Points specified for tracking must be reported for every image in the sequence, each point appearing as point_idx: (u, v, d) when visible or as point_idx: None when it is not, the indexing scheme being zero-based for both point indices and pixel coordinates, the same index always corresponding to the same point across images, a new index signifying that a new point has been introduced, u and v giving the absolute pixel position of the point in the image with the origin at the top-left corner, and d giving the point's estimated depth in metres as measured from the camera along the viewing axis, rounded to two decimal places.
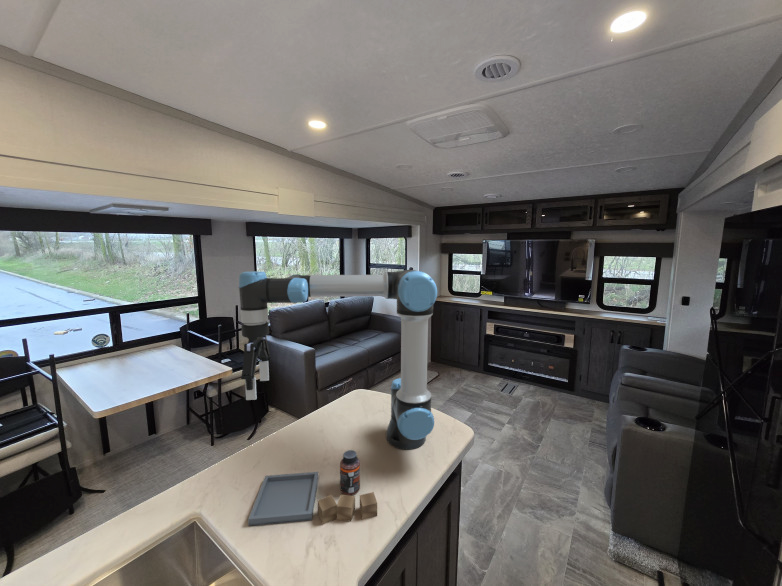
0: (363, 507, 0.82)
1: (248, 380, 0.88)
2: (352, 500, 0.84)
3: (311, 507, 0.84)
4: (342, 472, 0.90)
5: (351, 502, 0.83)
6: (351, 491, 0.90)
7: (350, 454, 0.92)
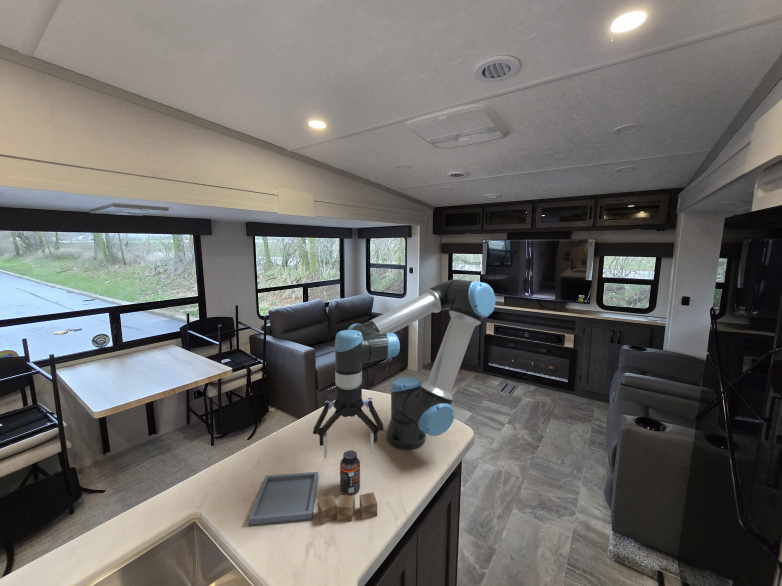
0: (363, 507, 0.82)
1: None
2: (352, 500, 0.84)
3: (311, 507, 0.84)
4: (342, 472, 0.90)
5: (351, 502, 0.83)
6: (351, 491, 0.90)
7: (350, 454, 0.92)
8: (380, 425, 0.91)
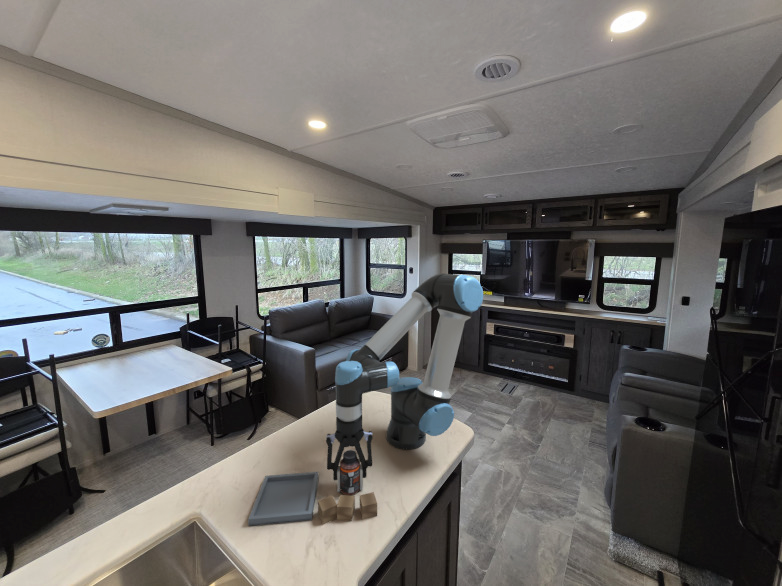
0: (363, 507, 0.82)
1: None
2: (352, 500, 0.84)
3: (311, 507, 0.84)
4: (342, 472, 0.90)
5: (351, 502, 0.83)
6: (351, 491, 0.90)
7: (350, 454, 0.92)
8: (370, 461, 0.92)
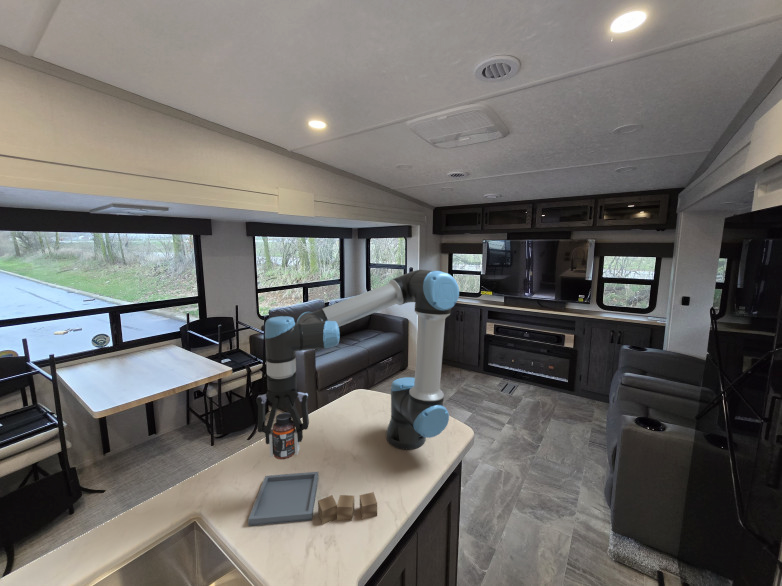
0: (363, 507, 0.82)
1: None
2: (352, 499, 0.84)
3: (311, 507, 0.84)
4: (274, 435, 0.84)
5: (351, 502, 0.84)
6: (284, 455, 0.84)
7: (284, 416, 0.86)
8: (305, 423, 0.86)
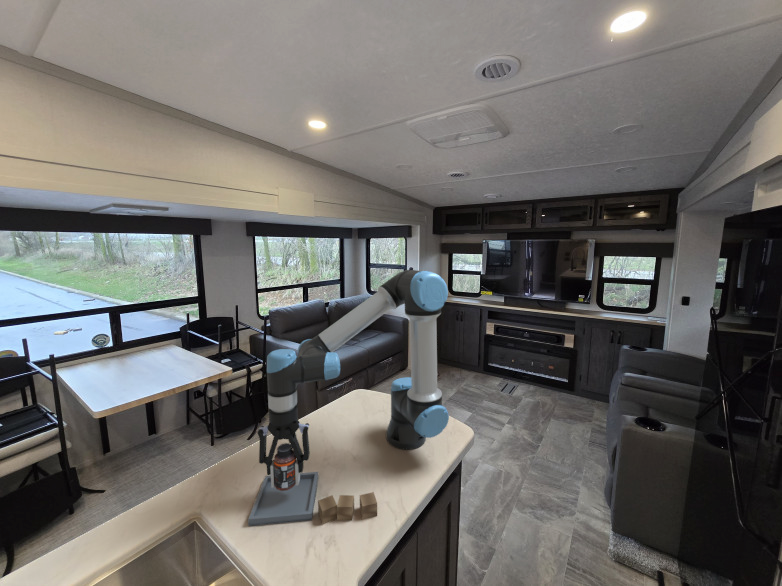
0: (363, 507, 0.82)
1: None
2: (352, 499, 0.84)
3: (311, 507, 0.84)
4: (275, 466, 0.86)
5: (351, 501, 0.84)
6: (285, 486, 0.86)
7: (285, 447, 0.87)
8: (306, 454, 0.87)
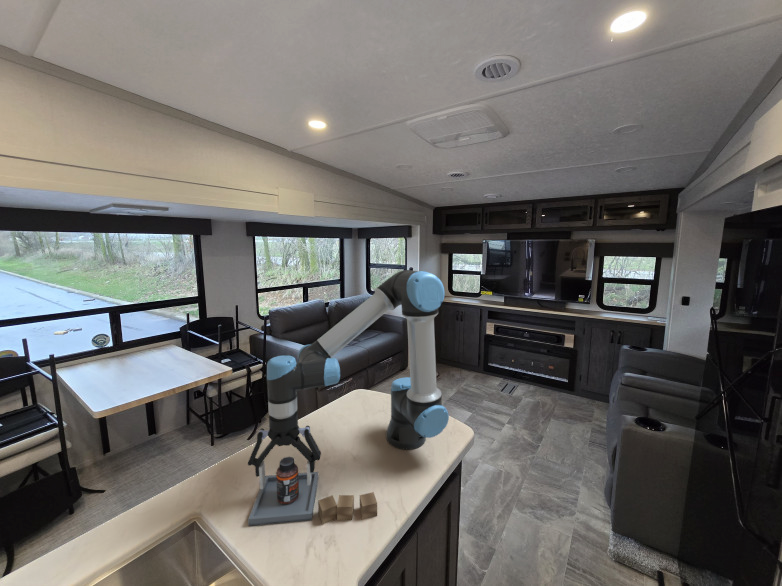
0: (363, 507, 0.82)
1: None
2: (351, 499, 0.84)
3: (311, 507, 0.84)
4: (277, 480, 0.86)
5: (351, 501, 0.84)
6: (287, 500, 0.86)
7: (287, 461, 0.88)
8: (316, 454, 0.87)
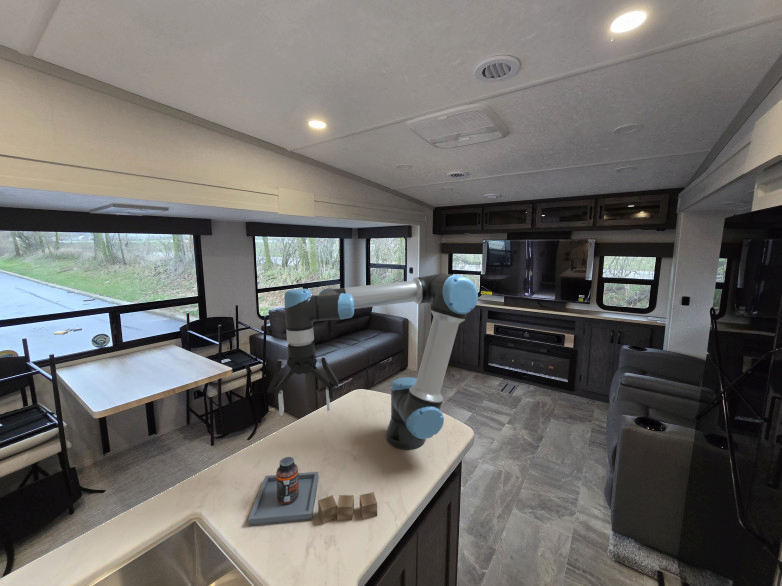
0: (363, 507, 0.82)
1: None
2: (352, 499, 0.84)
3: (311, 507, 0.84)
4: (277, 480, 0.86)
5: (351, 501, 0.84)
6: (287, 500, 0.86)
7: (287, 461, 0.88)
8: (334, 381, 0.92)
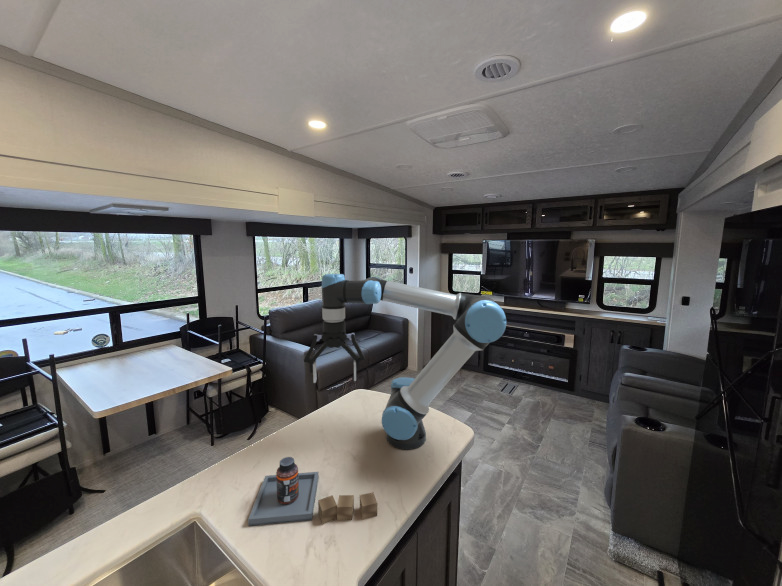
0: (363, 507, 0.82)
1: None
2: (351, 499, 0.84)
3: (311, 507, 0.84)
4: (277, 480, 0.86)
5: (351, 501, 0.84)
6: (287, 500, 0.86)
7: (287, 461, 0.88)
8: (361, 355, 1.06)
